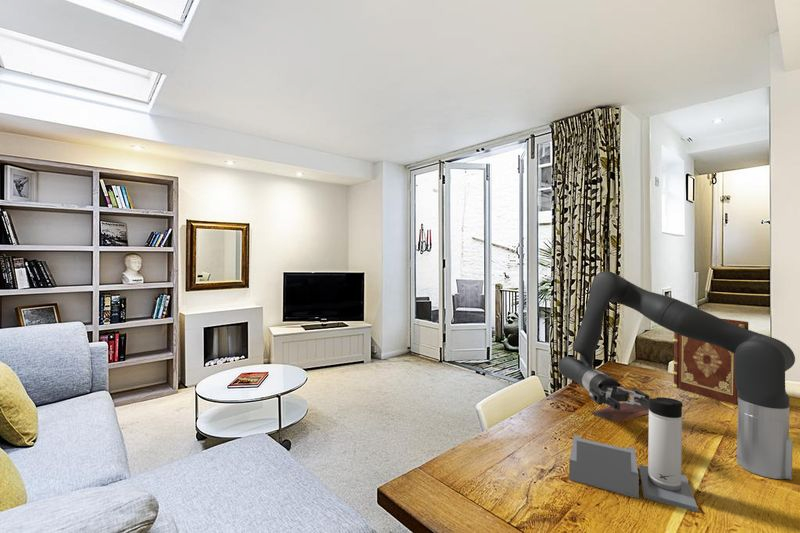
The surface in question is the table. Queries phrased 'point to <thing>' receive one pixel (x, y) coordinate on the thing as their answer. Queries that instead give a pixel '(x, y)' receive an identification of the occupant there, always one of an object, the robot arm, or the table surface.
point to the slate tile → (668, 492)
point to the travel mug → (665, 443)
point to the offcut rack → (604, 466)
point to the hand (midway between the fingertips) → (635, 407)
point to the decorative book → (705, 367)
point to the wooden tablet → (621, 412)
